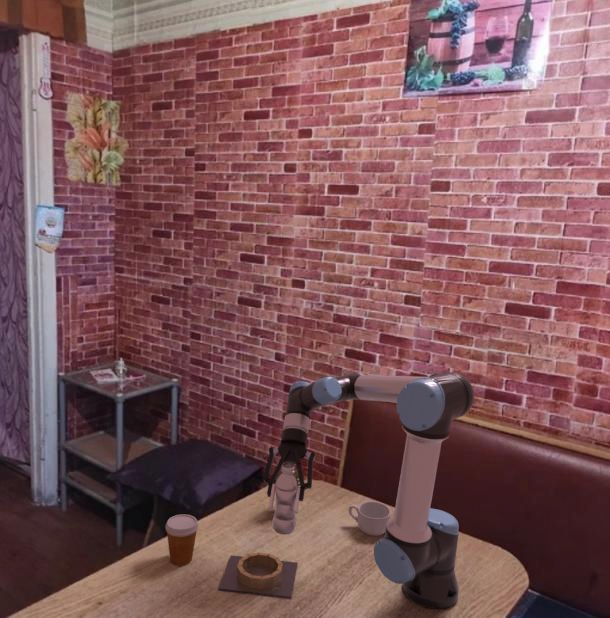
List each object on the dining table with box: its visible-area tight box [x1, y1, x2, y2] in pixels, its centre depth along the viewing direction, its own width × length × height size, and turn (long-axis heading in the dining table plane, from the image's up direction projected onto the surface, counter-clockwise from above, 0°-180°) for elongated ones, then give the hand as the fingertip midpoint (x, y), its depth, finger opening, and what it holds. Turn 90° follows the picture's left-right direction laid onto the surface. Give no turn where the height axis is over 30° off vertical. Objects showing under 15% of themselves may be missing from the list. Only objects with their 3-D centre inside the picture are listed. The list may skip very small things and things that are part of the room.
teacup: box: [348, 500, 392, 537], centre depth 196 cm, size 14×11×8 cm
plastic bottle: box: [271, 463, 300, 536], centre depth 166 cm, size 6×7×20 cm
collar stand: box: [217, 552, 299, 600], centre depth 168 cm, size 20×16×4 cm
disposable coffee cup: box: [164, 514, 200, 567], centre depth 173 cm, size 10×10×12 cm
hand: (283, 510), depth 163 cm, fingers closed on plastic bottle, 6 cm apart
